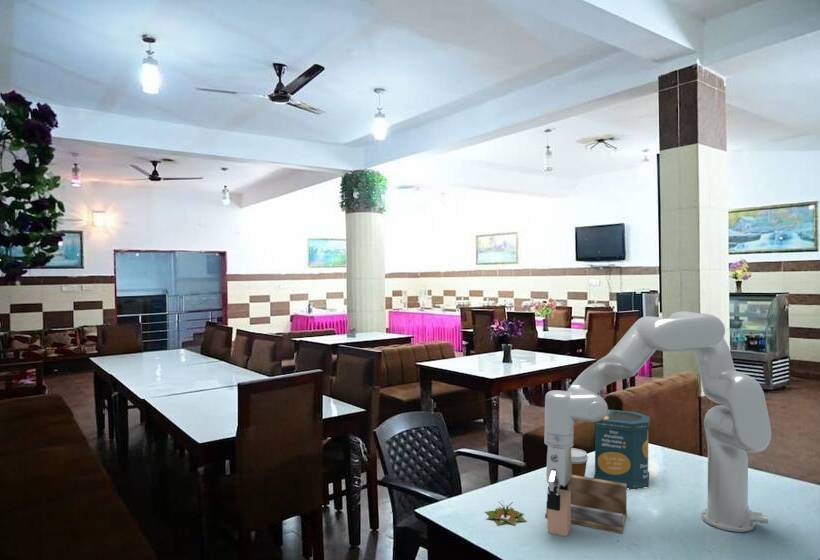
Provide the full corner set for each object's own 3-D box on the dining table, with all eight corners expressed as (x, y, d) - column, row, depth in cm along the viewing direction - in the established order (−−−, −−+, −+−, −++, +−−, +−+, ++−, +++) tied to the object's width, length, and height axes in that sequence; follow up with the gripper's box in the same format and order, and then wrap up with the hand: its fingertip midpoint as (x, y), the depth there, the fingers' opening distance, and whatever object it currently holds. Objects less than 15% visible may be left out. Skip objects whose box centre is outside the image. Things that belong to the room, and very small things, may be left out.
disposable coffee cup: (582, 498, 163) (582, 459, 163) (551, 491, 169) (552, 453, 169) (592, 489, 171) (592, 451, 171) (563, 482, 177) (563, 445, 177)
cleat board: (626, 514, 153) (626, 482, 153) (621, 533, 141) (621, 499, 141) (555, 500, 162) (555, 470, 162) (545, 517, 151) (545, 485, 150)
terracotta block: (570, 528, 144) (570, 491, 144) (566, 536, 140) (566, 498, 140) (551, 524, 147) (551, 487, 147) (547, 532, 142) (547, 494, 142)
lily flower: (494, 531, 144) (494, 514, 144) (477, 512, 155) (477, 496, 155) (535, 525, 147) (535, 509, 147) (515, 507, 159) (515, 492, 159)
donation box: (599, 467, 190) (599, 388, 190) (649, 475, 183) (650, 392, 183) (593, 483, 175) (593, 397, 175) (647, 492, 168) (648, 402, 168)
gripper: (566, 449, 134) (565, 518, 134) (579, 432, 149) (578, 494, 149) (536, 444, 137) (535, 511, 137) (551, 428, 153) (550, 488, 153)
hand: (557, 502), depth 143 cm, fingers open, 9 cm apart
